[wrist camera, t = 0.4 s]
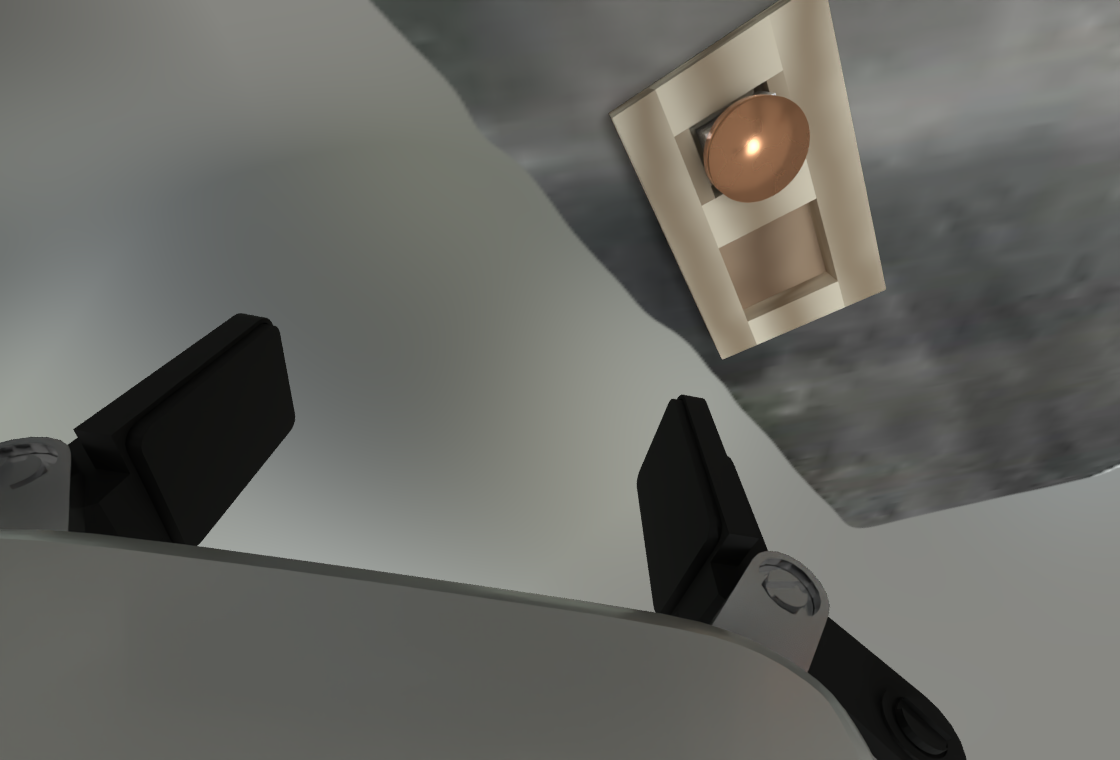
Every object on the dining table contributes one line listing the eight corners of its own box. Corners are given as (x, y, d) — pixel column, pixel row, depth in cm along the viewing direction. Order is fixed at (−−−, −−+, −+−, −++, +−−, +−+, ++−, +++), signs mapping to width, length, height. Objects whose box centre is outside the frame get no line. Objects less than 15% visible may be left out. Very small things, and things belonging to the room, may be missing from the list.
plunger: (766, 72, 27) (795, 72, 24) (790, 158, 30) (820, 170, 26) (680, 125, 29) (695, 133, 26) (710, 202, 32) (728, 219, 28)
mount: (794, -10, 28) (823, -21, 25) (859, 270, 38) (885, 289, 35) (608, 113, 32) (611, 118, 29) (711, 336, 42) (722, 359, 39)
